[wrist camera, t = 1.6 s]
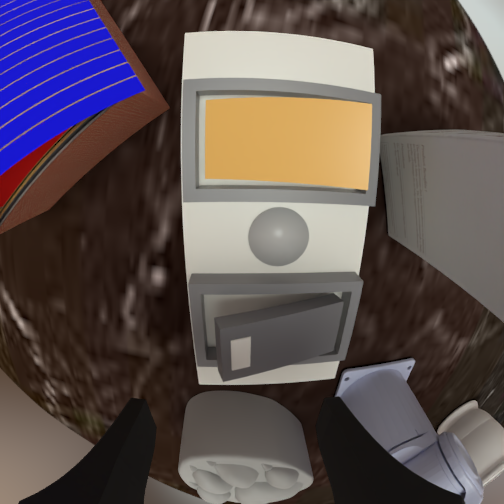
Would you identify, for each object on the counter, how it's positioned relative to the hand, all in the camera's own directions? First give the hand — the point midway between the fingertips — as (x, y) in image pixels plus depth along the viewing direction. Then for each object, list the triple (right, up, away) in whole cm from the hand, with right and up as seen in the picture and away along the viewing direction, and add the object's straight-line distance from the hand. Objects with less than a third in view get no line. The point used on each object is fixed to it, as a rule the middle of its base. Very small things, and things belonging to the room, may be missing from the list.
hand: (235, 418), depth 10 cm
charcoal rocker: (+2, +2, +6) cm, 6 cm away
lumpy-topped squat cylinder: (-1, -11, +16) cm, 19 cm away
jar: (+34, -20, +21) cm, 45 cm away
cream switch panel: (+2, +8, +8) cm, 12 cm away
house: (-14, +20, +3) cm, 25 cm away
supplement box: (+13, +12, +8) cm, 19 cm away
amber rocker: (+2, +11, +2) cm, 12 cm away
